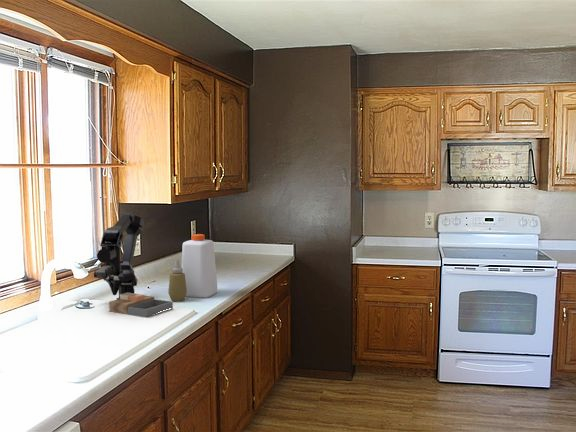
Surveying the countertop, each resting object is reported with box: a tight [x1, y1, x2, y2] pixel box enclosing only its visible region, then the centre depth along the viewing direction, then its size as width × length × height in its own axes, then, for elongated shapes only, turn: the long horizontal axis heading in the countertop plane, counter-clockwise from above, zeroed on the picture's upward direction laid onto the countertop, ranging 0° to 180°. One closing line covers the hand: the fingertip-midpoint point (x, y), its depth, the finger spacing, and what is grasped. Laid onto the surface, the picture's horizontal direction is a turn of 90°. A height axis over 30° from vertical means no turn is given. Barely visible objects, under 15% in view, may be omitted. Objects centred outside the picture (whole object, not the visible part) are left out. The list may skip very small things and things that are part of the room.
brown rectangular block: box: [108, 294, 155, 315], centre depth 246 cm, size 10×16×4 cm, turn 151°
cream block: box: [120, 292, 137, 300], centre depth 247 cm, size 4×4×2 cm
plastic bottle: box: [180, 233, 218, 299], centre depth 272 cm, size 15×15×28 cm
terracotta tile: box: [129, 293, 145, 302], centre depth 245 cm, size 4×4×2 cm
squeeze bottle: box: [168, 259, 187, 303], centre depth 261 cm, size 8×8×18 cm
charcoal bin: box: [127, 298, 174, 318], centre depth 242 cm, size 10×16×3 cm, turn 151°
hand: (114, 295), depth 251 cm, fingers closed
